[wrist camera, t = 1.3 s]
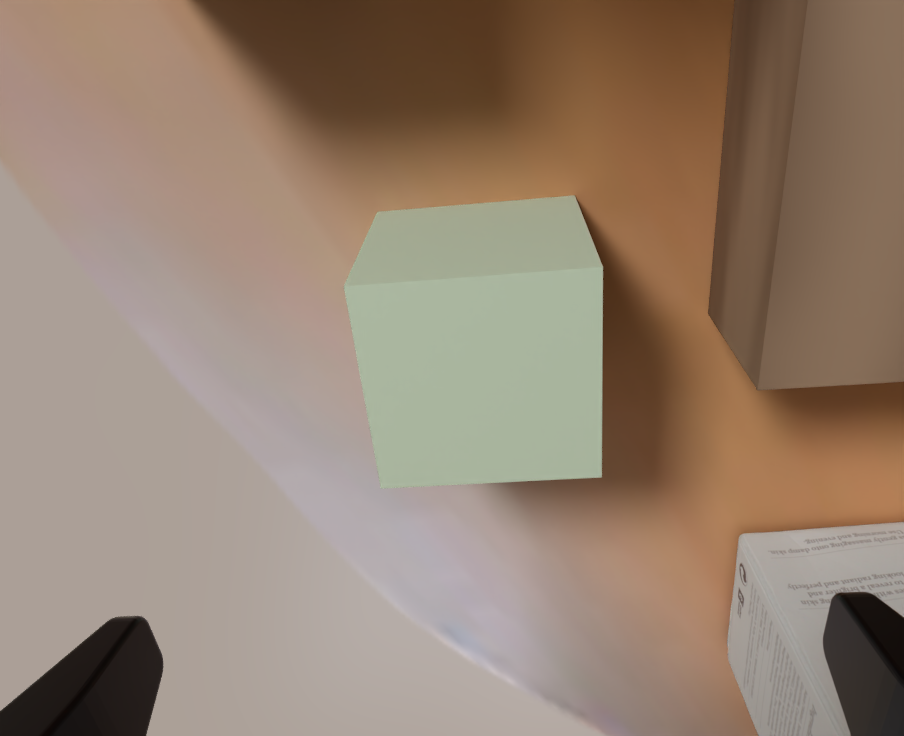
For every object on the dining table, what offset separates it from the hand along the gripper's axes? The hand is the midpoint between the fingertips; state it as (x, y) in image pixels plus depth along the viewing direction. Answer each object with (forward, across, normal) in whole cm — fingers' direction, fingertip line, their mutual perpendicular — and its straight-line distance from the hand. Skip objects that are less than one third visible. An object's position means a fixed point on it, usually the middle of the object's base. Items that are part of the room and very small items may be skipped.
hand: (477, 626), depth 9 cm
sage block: (+11, 0, 0) cm, 11 cm away
